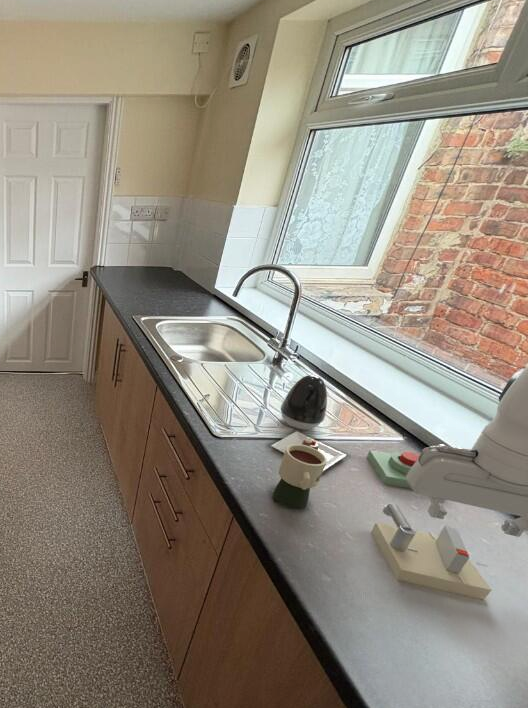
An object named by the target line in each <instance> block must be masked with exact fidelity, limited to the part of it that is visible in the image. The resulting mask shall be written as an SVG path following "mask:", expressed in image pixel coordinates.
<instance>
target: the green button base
mask: <svg viewBox="0 0 528 708" xmlns="http://www.w3.org/2000/svg"><path fill="white" fill-rule="evenodd" d="M402 453H403V452H401V451H396V452H393V453H390V452H384V451H378V450H372V449H370V450H369V451H368V453H367V455H366V458H367V460H368V461H369V463H370V465H371V466H372V468H373V470H374V471H375V473H376V474H377V477H378V478H379V479H380V481H381V482H382V484H384V485H389V486H394V487H399V488H405V489H409V490H410V489H411V490H413V489H412V488H411V486H410V485H409V483H408V481H407V478H406V476H407V474H408V472H409V470H410V469H411V468H412V467H411V466H408V465H406V464H404V463H402V462H401V461H399V458H400V456H401V454H402Z"/></svg>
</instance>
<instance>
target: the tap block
mask: <svg viewBox="0 0 528 708" xmlns="http://www.w3.org/2000/svg"><path fill="white" fill-rule="evenodd" d="M397 530H398V527H397V526H396V525H392V524H386V523H382V522H375V523H374V525H373V527H372V529H371V533H372V535H373V538H374V540H375V541H376V543H377V545H378V547H379V549H380V551H381V553H382V555H383V557H384V559H385V560H386V562H387V564H388V566H389V568H390V570H391V572H392V574H393V576H394V578H395V579H396V580H399V581H402V582H407V583H412V584H415V585H420V586H423V587H428V588H432V589H437V590H441V591H445V592H449V593H454V594H458V595H462V596H467V597H471V598H474V599H475V598H476V599H479V600H486V598H487V597H488V595H489V594H490V593H491V592H492V589H491V587H490V586H489V585H488V583H487V582H486V580H485V579H484V578H483V576H482V575H481V573H480V572H479V570H478V569H477V568H476V567H475V565H474V564H473V563H472V561H471V560H470V558H469V559H468V561H467V562H466V564H465V565H464V567H463V568H462V570H461V571H460V573H459V574H457V573H454V572H451V571H448V570H446V568H445V565H444V562H443V560H442V557H441V554H440V552H439V549H438V546H437V544H436V539H437V538H438V536H439V534H435V533H433V532H432V531H428V532H426V531H421V530H415V529H414V530H415V531H416V534H415V535H414V537H413V539H412V541H411V542H410V544H409V546H408V547H407V549H406V551H398V550H396V549H394V548H393V547H392V546H391V544H390V542H391V541H392V539H393V537H394V535H395V533H396V532H397ZM476 565H479V566H484V567H489V565H488V564H487V563H483V562H478V561H476Z"/></svg>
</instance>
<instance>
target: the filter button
mask: <svg viewBox="0 0 528 708" xmlns="http://www.w3.org/2000/svg"><path fill="white" fill-rule="evenodd" d="M401 453H402V454H401V456H400V458H399V461H401V462H402V463H404V464H406V465H408V466H411V467H412V466H413V465H414V464H415V462H416V461H417V460H418V459H419V456H420V455H419V454H417V453H414V452H411V451H403V452H401Z"/></svg>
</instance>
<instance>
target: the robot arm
mask: <svg viewBox="0 0 528 708" xmlns="http://www.w3.org/2000/svg"><path fill="white" fill-rule="evenodd" d="M497 399H498V404H497V406H496V407H497V408H496V414H495V416H494V418H493V419H492V420H491V421H490V422H489V423H487V424H486V425H485V426H484V428H483V429H482V431H481V433H480V434H479V435H478V438H477V439H476V440H475V442H474V444H473V445H472V448H471V449H470V448H463V447H455V446H450V445H447V444H437V445H432V446H431V445H430V446H428V447H424V448H423V449H422V450H421V451H420V454H419V455H418V456H419V459H418V460H417V461H416V462H415V464H414V465H413V466H412V468H411V469H410V470H409V472H408V474H407V476H406V478H407V481H408V483H409V485H410V486H411V488H412V489H411V490H412V491H413V492H414V493H415V494H418V495H421V496H426V497H428V499H429V502H430V505H429V507H428V508H427V514H429V516H430V518H435V519H439V520H444V518H445V517H446V516H447V514H448V512H447V510H446V509H445V507H444V506H443V504H444V503H445V502H446V501H449V502H454V503H458V504H463V505H467V506H472V507H476V508H481V509H485V510H490V511H495V512H499V513H504V514H507V515H513V516H518V518H515V519H513V520H510V519H505V520H504V521H503V524H501V530H502V531H503V532H504V534H505V535H508V536H513V537H517V538H519V537H521V536H522V534H523V533H524V532H525V531H528V365H527V366H526V367H524V368H521V369H519V370H517V371H515V373H514V374H513V375H512V376H511V377H510V378H509V380H508V381H507V382H506V385H505V386H504V388H503V389H502V392H501V393H500V394H499V396H498V398H497Z"/></svg>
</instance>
